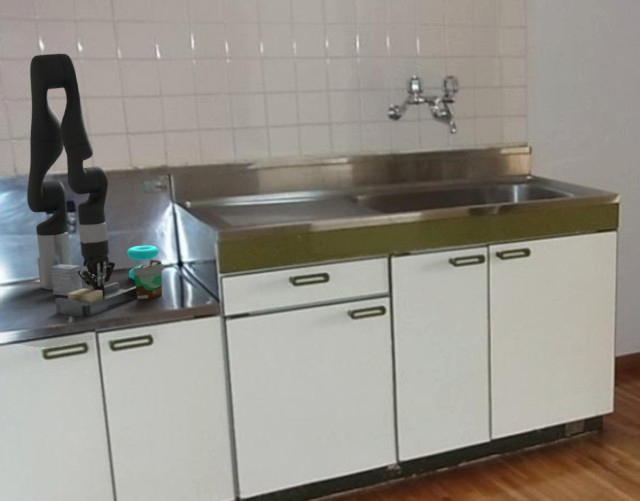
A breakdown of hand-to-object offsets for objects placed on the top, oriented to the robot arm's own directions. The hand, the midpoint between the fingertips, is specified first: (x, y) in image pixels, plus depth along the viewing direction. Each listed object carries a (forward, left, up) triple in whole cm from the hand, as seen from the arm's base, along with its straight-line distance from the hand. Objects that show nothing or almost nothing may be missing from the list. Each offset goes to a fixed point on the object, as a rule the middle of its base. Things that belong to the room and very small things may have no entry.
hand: (99, 298), depth 211 cm
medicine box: (-18, +6, -2) cm, 19 cm away
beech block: (0, -5, -1) cm, 5 cm away
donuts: (-9, +31, -2) cm, 32 cm away
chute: (0, +1, -2) cm, 2 cm away
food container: (+10, +12, -2) cm, 16 cm away
